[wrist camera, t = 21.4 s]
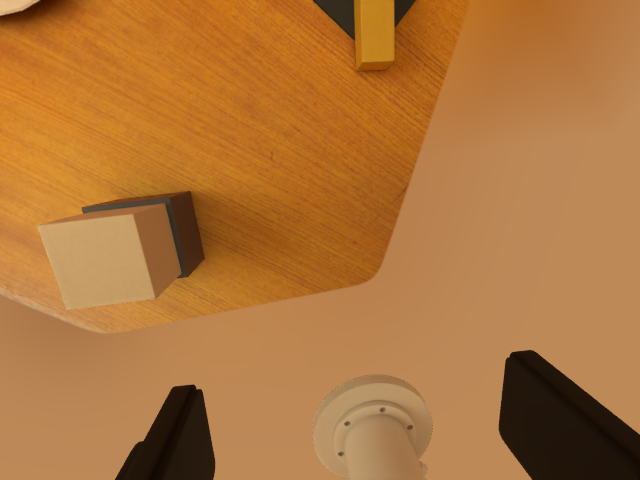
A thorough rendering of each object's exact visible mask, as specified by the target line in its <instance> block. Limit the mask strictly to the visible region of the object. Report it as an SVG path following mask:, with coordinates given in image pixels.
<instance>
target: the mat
mask: <svg viewBox="0 0 640 480" xmlns="http://www.w3.org/2000/svg"><path fill="white" fill-rule="evenodd" d="M313 1H314V2H315V3H316V4H317V5H318V6H319V7H320V8H321V9H322V10H324V11H325V12H326V13H327V14H328V15H329V16H330V17H331V18H332V19H333V20H334V21H335V22H336V23H337V24H338V25H339V26H340V27H341V28H342V29H343V30H344V31H345V32H346V33H347V34H348V35H349V36H350V37H351V38H353V39H354V40H355V19H354V0H313ZM414 2H415V0H394V28H395V27H396V25H397V24H398V23H399V21H400V20H401V19H402V17H403V16H404V15H405V13H406V12H407V11H408V10H409V8H410V7H411V6H412V4H413V3H414Z"/></svg>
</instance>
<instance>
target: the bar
mask: <svg viewBox="0 0 640 480" xmlns="http://www.w3.org/2000/svg"><path fill="white" fill-rule="evenodd" d="M354 19H355V50H356V71H368V70H386V69H387V68H388V67H389V66H390V65H391V64H392V63H393V62H394V0H354Z"/></svg>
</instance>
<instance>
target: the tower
mask: <svg viewBox="0 0 640 480" xmlns="http://www.w3.org/2000/svg"><path fill="white" fill-rule="evenodd" d="M82 211H83V214H80V215H76V216H72V217H68V218H64V219H60V220H56V221H52V222H48V223H44V224H40V225H37V227H38V230H39V233H40V236H41V239H42V242H43V244H44V247H45V250H46V253H47V256H48V259H49V262H50V264H51V267H52V270H53V273H54V276H55V279H56V281H57V284H58V287H59V290H60V293H61V296H62V299H63V301H64V304H65V307H66V310H67V311H68V310H76V309H83V308H91V307H98V306H106V305H114V304H121V303H129V302H136V301H144V300H151V299H156V298H157V297H158V296H159V295H160V294H161V293H162V292H163V291H164V290H165V289H166V288H167V287H168V286H169V285H170V284H171V283H172V282H173V281H174V280H175V279H176V278H184V277H188V276H189V275H190V274H191V273H192V272H193V271H194V270H195V269H196V268H197V267H198V265H199V264H200V263H201V262H202V261H203V260H204V259H205V258H204V253H203V248H202V244H201V239H200V234H199V230H198V225H197V221H196V216H195V211H194V207H193V202H192V197H191V193H190V191H187V192H179V193H170V194H162V195H153V196H145V197H136V198H128V199H119V200H114V201H109V202H105V203H100V204H96V205H91V206H87V207H82Z"/></svg>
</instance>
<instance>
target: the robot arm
mask: <svg viewBox="0 0 640 480" xmlns="http://www.w3.org/2000/svg"><path fill="white" fill-rule="evenodd" d="M499 432H500V435H501V437H502V439H503V441H504V442H505V444H506V445H507V446H508V448H509V449H510V450H511V452H512V453H513V454H514V456H515V457H516V458H517V460H518V461H519V462H520V464H521V465H522V466H523V468H524V469H525V470H526V472H527V473H528V475H529V476H530V477H531V479H532V480H640V435H639V434H638V433H637V432H636V431H634V430H633V429H632V428H631V427H629V426H628V425H627V424H625V423H624V422H623V421H622V420H621V419H619V418H618V417H617V416H615V415H614V414H613V413H612V412H610V411H609V410H608V409H607V408H605V407H604V406H603V405H601V404H600V403H599V402H598V401H597V400H595V399H594V398H593V397H592V396H590V395H589V394H588V393H587V392H585V391H584V390H583V389H581V388H580V387H579V386H578V385H577V384H575V383H574V382H573V381H572V380H570V379H569V378H567V377H566V376H565V375H564V374H563V373H561V372H560V371H559V370H557V369H556V368H555V367H554V366H553V365H551V364H550V363H549V362H547V361H546V360H545V359H544V358H542V357H541V356H540V355H539V354H538V353H536V352H534V351H532V350H527V351H517V352H512V353H511V354H510V357H509V358H507V359H506V363H505V372H504V381H503V391H502V401H501V409H500V419H499ZM415 442H416V428H415V425H414V422H413V420H412V418H411V416H410V415H409V413H408V412H407V411H406V410H405V409H404V408H402V407H400V406H399V405H397V404H394V403H392V402H387V401H370V402H365V403H362V404H359V405H357V406H355V407H353V408H352V409H350V410H349V411H347V412H346V413H345V414H344V415H343V416H342V417H341V418H340V420H339V421H338V422H337V424H336V426H335V429H334V432H333V446H334V452H335V454H336V456H337V458H338V459H339V461H340V462H341V463H342V464H343V465H345V466H346V467H348V472H349V478H350V480H426V479H425V477H424V475H425V474H426V473H427V466H426V465H425V464H423V463H422V462H420V461H419V460H418V458H417V456H416V453H415V451H414V448H413V447H414V445H415ZM214 473H215V458H214V452H213V447H212V441H211V436H210V430H209V425H208V419H207V414H206V408H205V403H204V397H203V392H202V390H201V389H198V390H197V389H196V386H195V385H185V386H175V387H173V388H172V389H171V391H170V393H169V395H168V397H167V399H166V400H165V402H164V404H163V406H162V408H161V410H160V411H159V413H158V415H157V417H156V419H155V421H154V423H153V424H152V426H151V428H150V430H149V432H148V434H147V436H146V438H145V439H144V441H142V442H138V443H137V444H136V445H135V446H134V448H133V449H132V451H131V452H130V454H129V456H128V457H127V459H126V461H125V463H124V465H123V466H122V468H121V470H120V472H119V474H118V475H117V477H116V479H115V480H213V478H214Z"/></svg>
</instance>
